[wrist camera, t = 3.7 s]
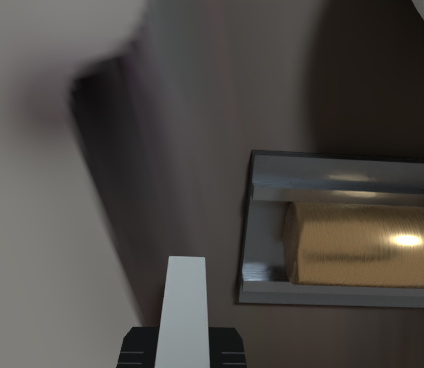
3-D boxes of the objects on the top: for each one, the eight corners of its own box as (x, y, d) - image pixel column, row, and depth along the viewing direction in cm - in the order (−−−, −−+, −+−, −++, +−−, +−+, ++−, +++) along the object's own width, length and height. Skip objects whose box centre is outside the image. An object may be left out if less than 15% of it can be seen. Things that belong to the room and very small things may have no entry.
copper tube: (281, 274, 19) (304, 297, 15) (284, 199, 19) (308, 201, 15) (492, 281, 20) (569, 305, 16) (494, 208, 20) (571, 213, 16)
